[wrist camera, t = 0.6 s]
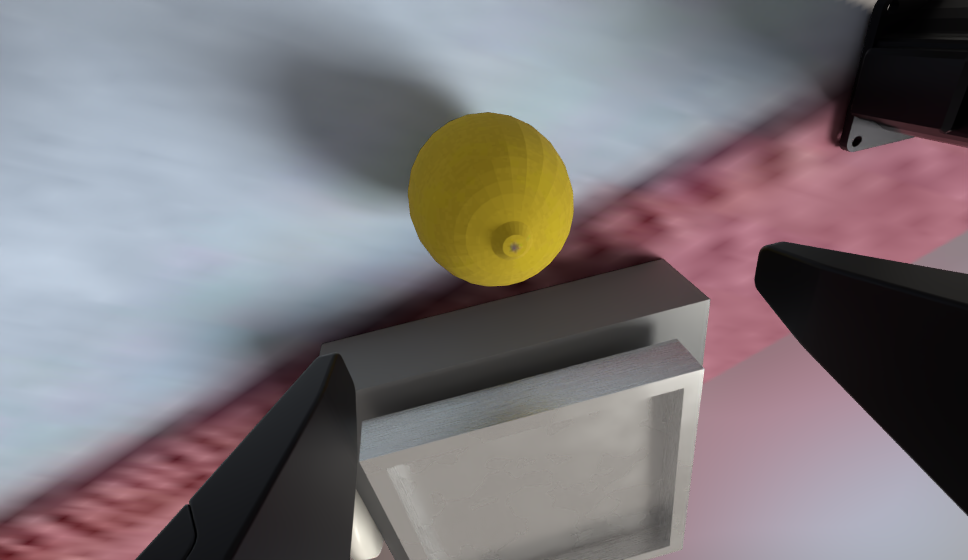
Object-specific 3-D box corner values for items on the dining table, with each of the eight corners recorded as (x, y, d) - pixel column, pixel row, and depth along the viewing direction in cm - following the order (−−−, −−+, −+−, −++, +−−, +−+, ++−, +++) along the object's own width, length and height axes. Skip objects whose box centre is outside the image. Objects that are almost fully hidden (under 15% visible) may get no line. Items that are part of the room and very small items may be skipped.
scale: (663, 258, 23) (740, 325, 18) (653, 451, 31) (705, 534, 26) (301, 349, 22) (273, 448, 17) (392, 525, 30) (392, 627, 25)
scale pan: (676, 338, 19) (704, 368, 18) (663, 515, 27) (682, 549, 25) (362, 421, 18) (359, 461, 17) (438, 581, 26) (441, 620, 24)
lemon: (382, 128, 17) (375, 194, 11) (513, 76, 17) (591, 108, 10) (435, 244, 20) (456, 355, 13) (547, 200, 20) (626, 289, 13)
